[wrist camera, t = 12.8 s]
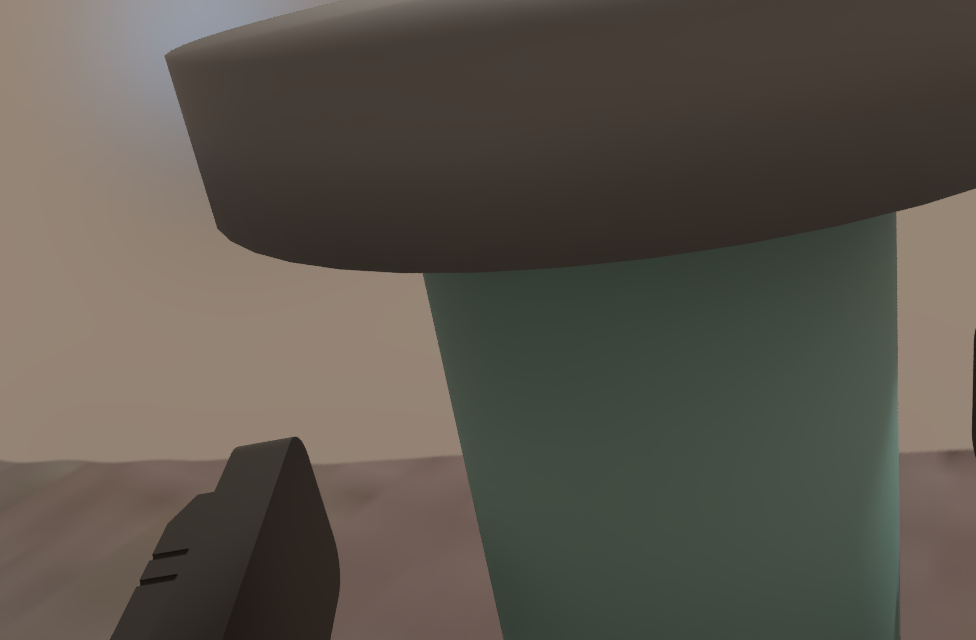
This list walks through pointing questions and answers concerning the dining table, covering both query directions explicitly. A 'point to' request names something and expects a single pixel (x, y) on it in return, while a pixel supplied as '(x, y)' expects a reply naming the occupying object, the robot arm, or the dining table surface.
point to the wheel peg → (626, 273)
